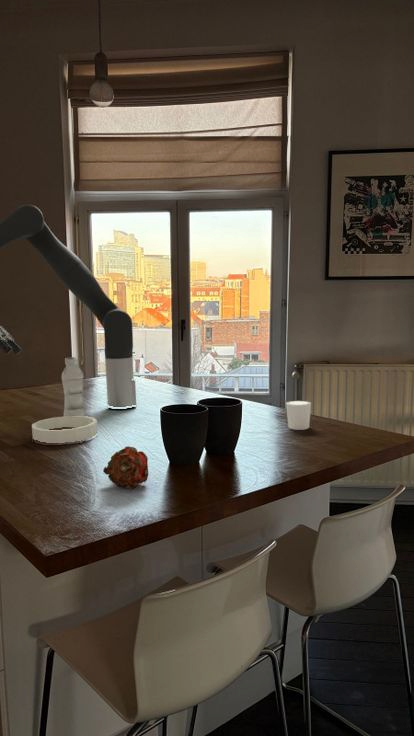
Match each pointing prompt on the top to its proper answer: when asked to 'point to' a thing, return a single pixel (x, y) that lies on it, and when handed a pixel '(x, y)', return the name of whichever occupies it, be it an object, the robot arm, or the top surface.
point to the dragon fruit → (127, 468)
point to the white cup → (298, 414)
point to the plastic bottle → (73, 388)
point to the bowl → (81, 430)
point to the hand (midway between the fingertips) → (14, 351)
